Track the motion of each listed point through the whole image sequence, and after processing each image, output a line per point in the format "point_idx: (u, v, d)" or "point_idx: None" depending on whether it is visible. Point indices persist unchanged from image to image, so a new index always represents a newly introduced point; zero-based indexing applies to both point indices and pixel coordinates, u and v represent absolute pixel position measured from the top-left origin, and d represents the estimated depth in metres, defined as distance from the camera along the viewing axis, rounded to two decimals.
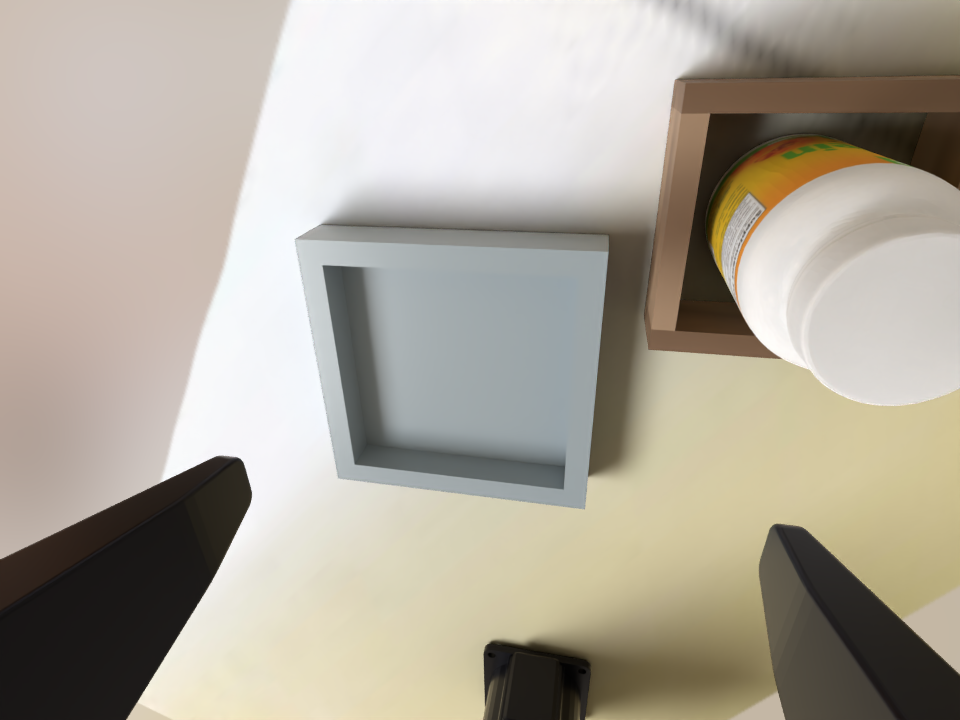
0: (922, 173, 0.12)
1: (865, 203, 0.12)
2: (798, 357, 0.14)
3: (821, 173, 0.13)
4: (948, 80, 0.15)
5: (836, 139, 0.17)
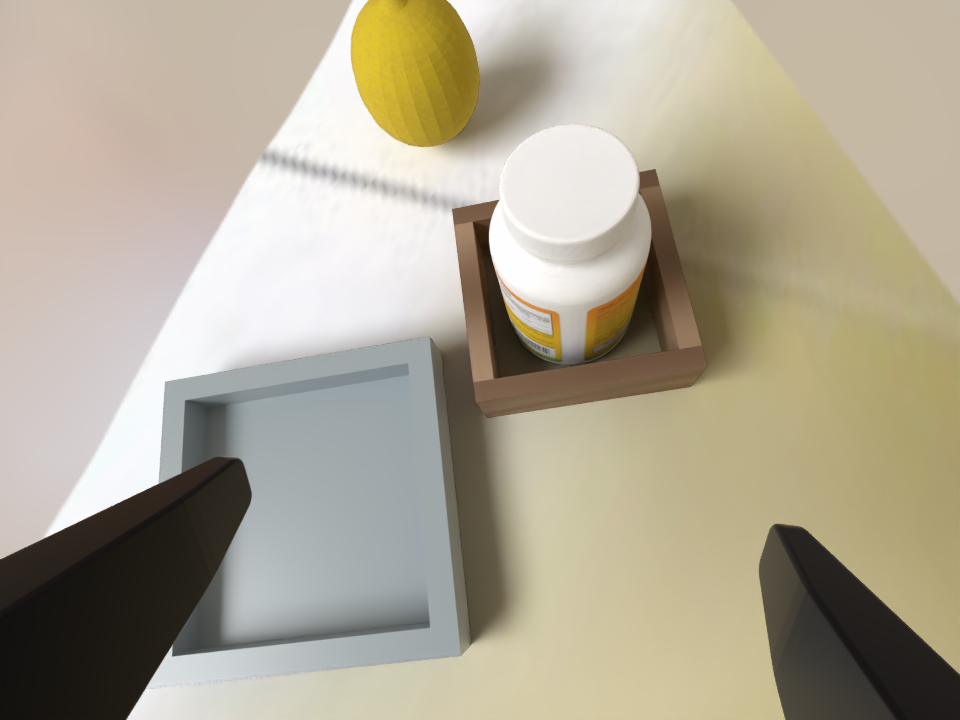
0: None
1: None
2: (546, 283, 0.17)
3: None
4: None
5: None
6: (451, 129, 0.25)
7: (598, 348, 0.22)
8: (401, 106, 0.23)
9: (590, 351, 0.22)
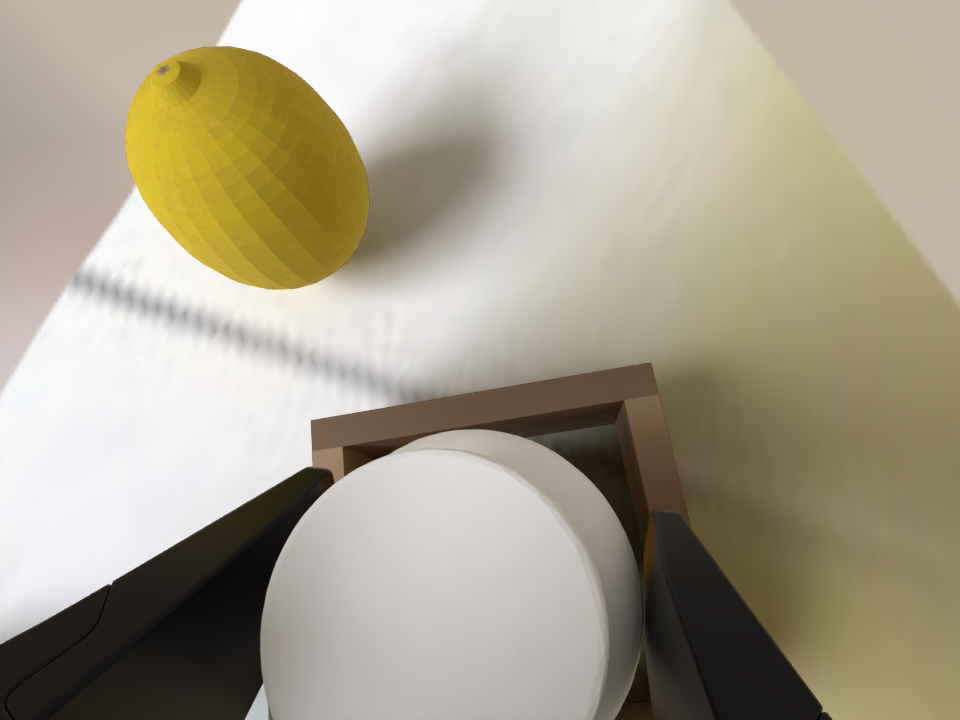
0: (483, 430, 0.09)
1: None
2: None
3: None
4: (570, 377, 0.13)
5: None
6: (322, 271, 0.16)
7: None
8: (218, 252, 0.14)
9: None
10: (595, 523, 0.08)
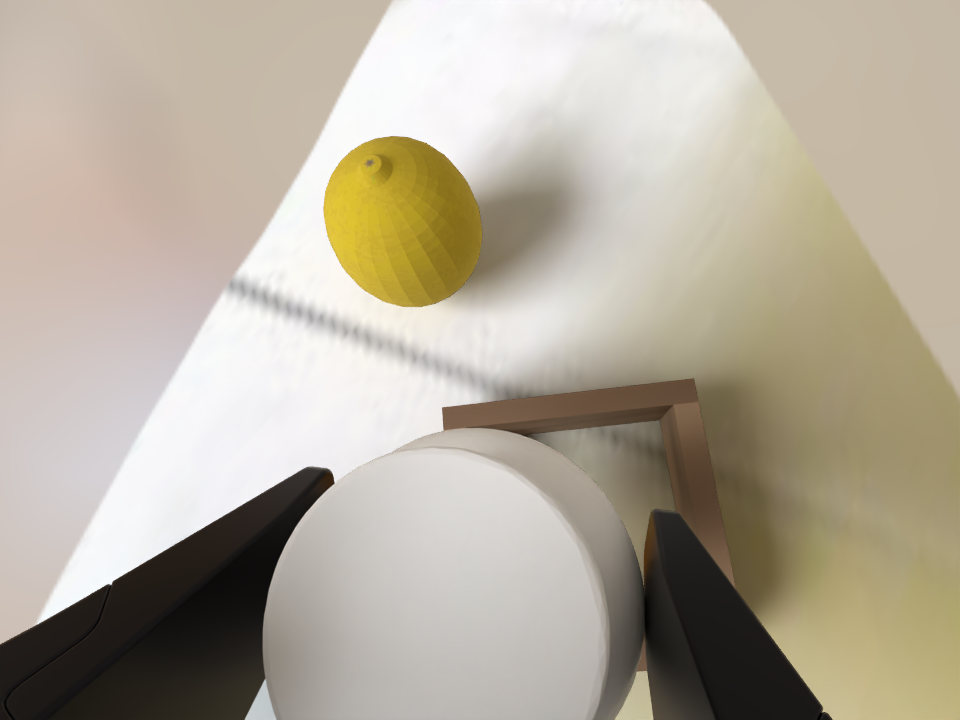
0: (485, 428, 0.09)
1: None
2: None
3: None
4: (634, 386, 0.19)
5: None
6: (446, 295, 0.21)
7: None
8: (383, 283, 0.19)
9: None
10: (596, 522, 0.08)
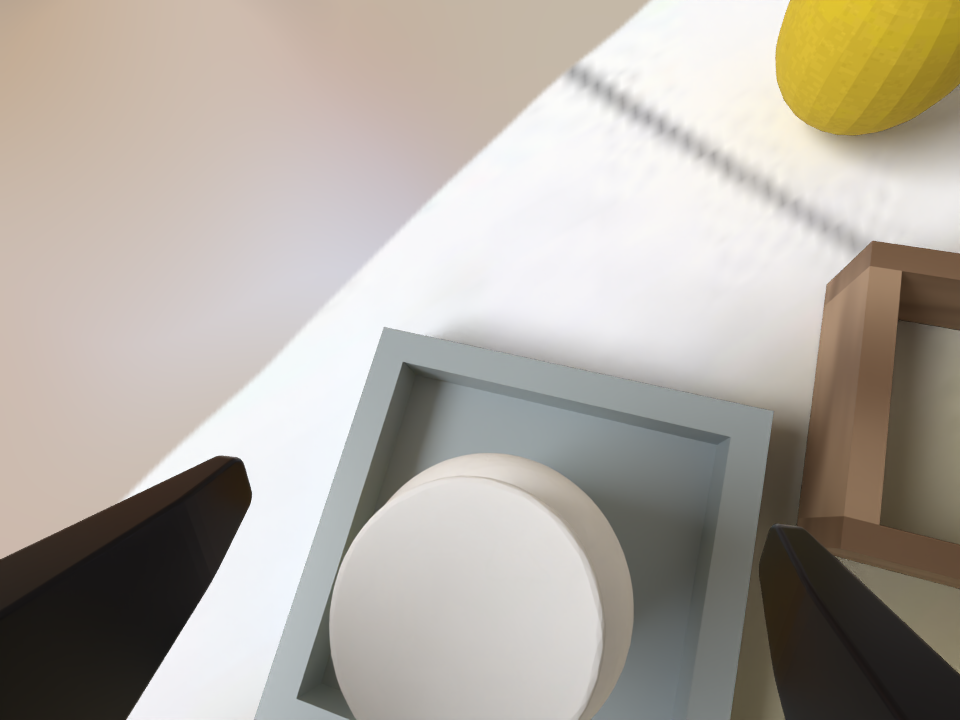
0: (498, 454, 0.11)
1: None
2: None
3: None
4: None
5: None
6: (896, 121, 0.17)
7: None
8: (868, 64, 0.15)
9: None
10: (592, 533, 0.10)
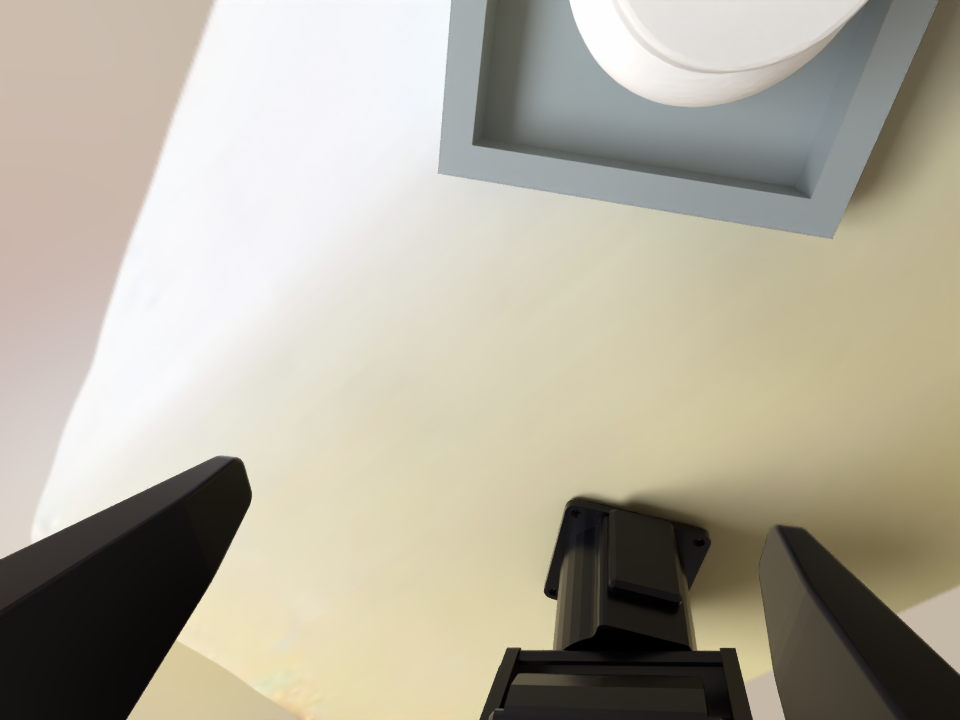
0: None
1: None
2: (676, 83, 0.10)
3: None
4: None
5: None
6: None
7: None
8: None
9: None
10: None
